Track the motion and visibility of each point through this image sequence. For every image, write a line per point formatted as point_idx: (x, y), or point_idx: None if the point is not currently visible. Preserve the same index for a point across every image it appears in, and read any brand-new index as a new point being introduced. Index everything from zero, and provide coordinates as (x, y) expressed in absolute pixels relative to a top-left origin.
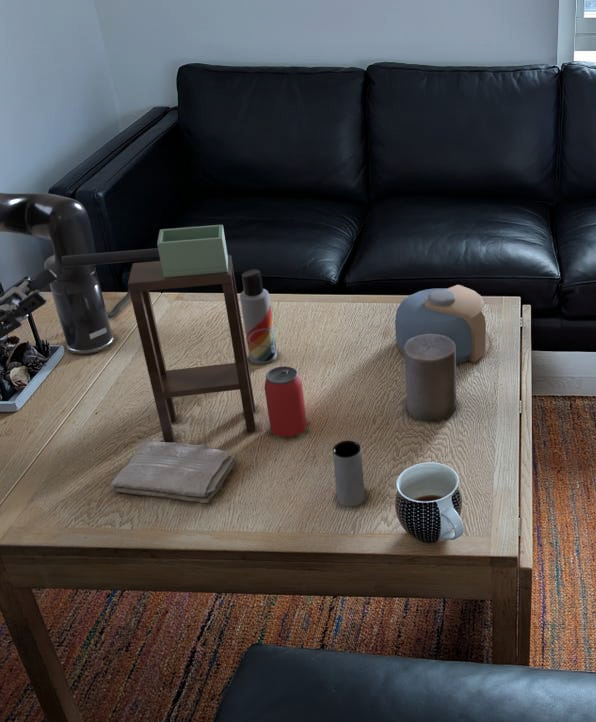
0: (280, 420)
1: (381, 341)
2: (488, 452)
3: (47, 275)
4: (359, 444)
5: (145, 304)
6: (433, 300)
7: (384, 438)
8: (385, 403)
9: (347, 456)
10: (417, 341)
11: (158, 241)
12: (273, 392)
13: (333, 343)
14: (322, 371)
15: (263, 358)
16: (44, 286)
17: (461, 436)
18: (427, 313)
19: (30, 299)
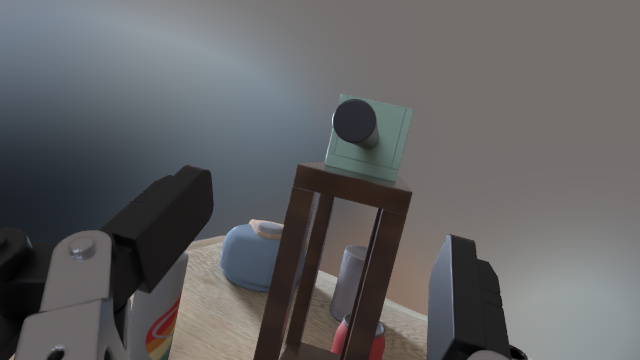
0: None
1: (219, 288)
2: (425, 323)
3: (200, 198)
4: None
5: (299, 263)
6: (275, 229)
7: (390, 354)
8: (331, 330)
9: (525, 355)
10: (356, 253)
11: (403, 107)
12: (381, 349)
13: (186, 307)
14: (236, 335)
15: (166, 355)
16: (174, 262)
17: (400, 323)
18: (278, 241)
19: (480, 282)
